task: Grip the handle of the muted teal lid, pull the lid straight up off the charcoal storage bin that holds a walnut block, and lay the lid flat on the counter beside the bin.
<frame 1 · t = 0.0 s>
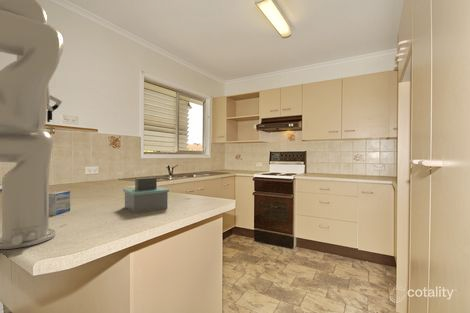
hand: (31, 120, 79), 37 cm above the table, tool pointing down, fingers open, 9 cm apart
lid: (145, 191, 98), point 8 cm above the table, touching bin
walnut block: (145, 207, 98), point 1 cm above the table, touching bin
medicine box: (58, 213, 91), on the table
bin: (145, 209, 98), on the table
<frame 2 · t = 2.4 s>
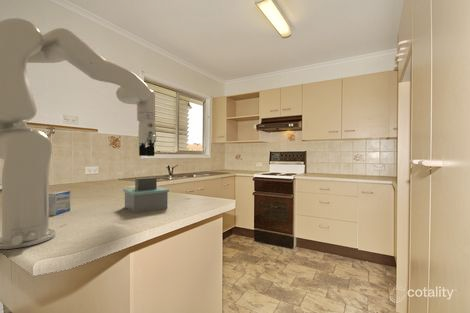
hand: (146, 155, 98), 24 cm above the table, tool pointing down, fingers open, 9 cm apart
nothing on the table moved.
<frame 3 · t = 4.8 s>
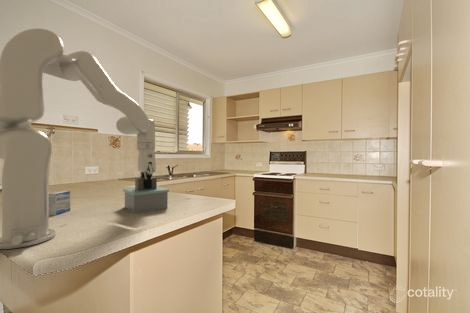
hand: (145, 187, 98), 10 cm above the table, tool pointing down, fingers closed on lid, 4 cm apart
lid: (145, 191, 98), point 8 cm above the table, touching bin, gripper
everything else where it was.
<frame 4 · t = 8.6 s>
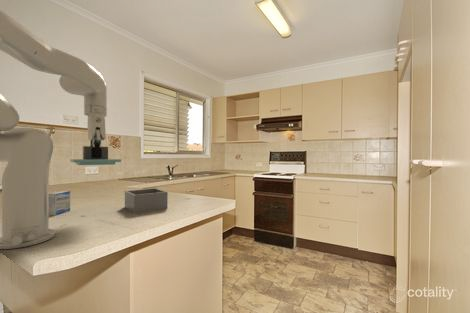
hand: (95, 157, 87), 23 cm above the table, tool pointing down, fingers closed on lid, 4 cm apart
lid: (95, 161, 87), point 22 cm above the table, touching gripper
everything else where it was.
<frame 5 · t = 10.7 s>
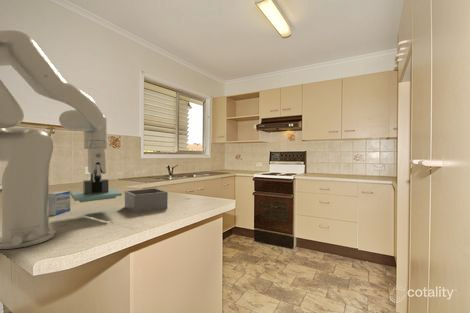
hand: (96, 190, 87), 10 cm above the table, tool pointing down, fingers closed on lid, 4 cm apart
lid: (96, 195, 87), point 8 cm above the table, touching gripper
everything else where it was.
when the fingers open (4 cm above the table, at t = 12.7 s): lid drops 1 cm, point 1 cm above the table.
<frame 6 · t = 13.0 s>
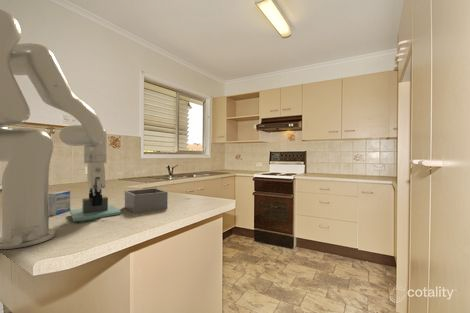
hand: (95, 203, 87), 5 cm above the table, tool pointing down, fingers open, 7 cm apart
lid: (95, 213, 87), point 1 cm above the table
everything else where it was.
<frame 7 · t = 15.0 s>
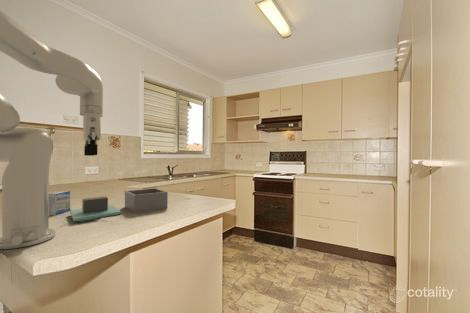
hand: (90, 155, 86), 24 cm above the table, tool pointing down, fingers open, 9 cm apart
nothing on the table moved.
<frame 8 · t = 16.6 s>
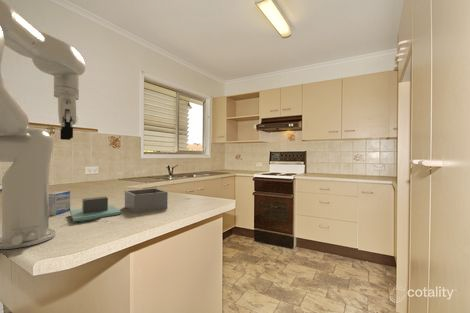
hand: (66, 138, 83), 30 cm above the table, tool pointing down, fingers open, 9 cm apart
nothing on the table moved.
at the end: lid inside the target area (0.1 cm from its centre), point 1.0 cm above the table; lid tilted 0°; the gripper is holding nothing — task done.
